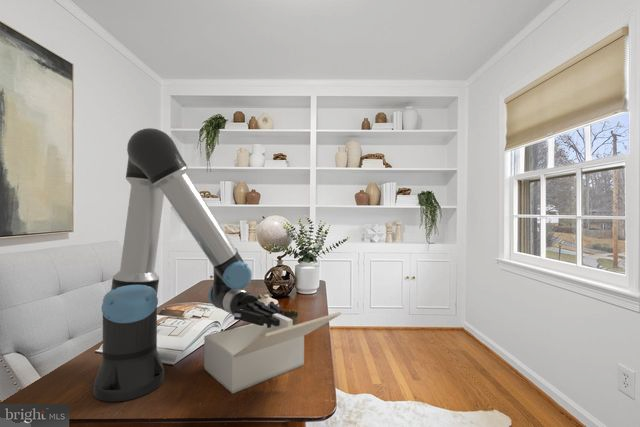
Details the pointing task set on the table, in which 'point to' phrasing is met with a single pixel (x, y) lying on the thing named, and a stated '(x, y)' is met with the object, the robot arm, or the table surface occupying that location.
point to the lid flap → (285, 334)
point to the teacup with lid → (268, 300)
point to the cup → (291, 316)
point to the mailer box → (249, 357)
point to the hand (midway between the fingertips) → (290, 325)
